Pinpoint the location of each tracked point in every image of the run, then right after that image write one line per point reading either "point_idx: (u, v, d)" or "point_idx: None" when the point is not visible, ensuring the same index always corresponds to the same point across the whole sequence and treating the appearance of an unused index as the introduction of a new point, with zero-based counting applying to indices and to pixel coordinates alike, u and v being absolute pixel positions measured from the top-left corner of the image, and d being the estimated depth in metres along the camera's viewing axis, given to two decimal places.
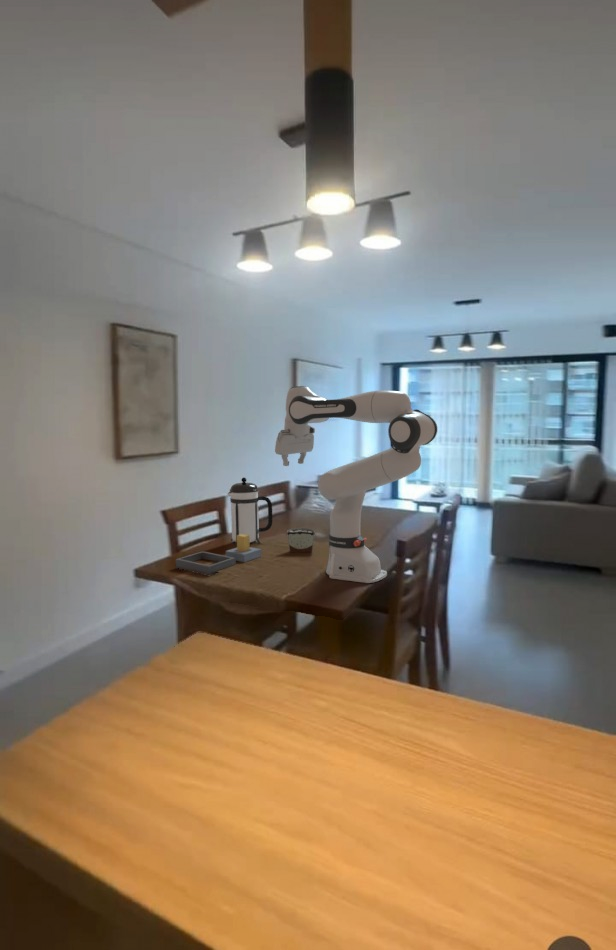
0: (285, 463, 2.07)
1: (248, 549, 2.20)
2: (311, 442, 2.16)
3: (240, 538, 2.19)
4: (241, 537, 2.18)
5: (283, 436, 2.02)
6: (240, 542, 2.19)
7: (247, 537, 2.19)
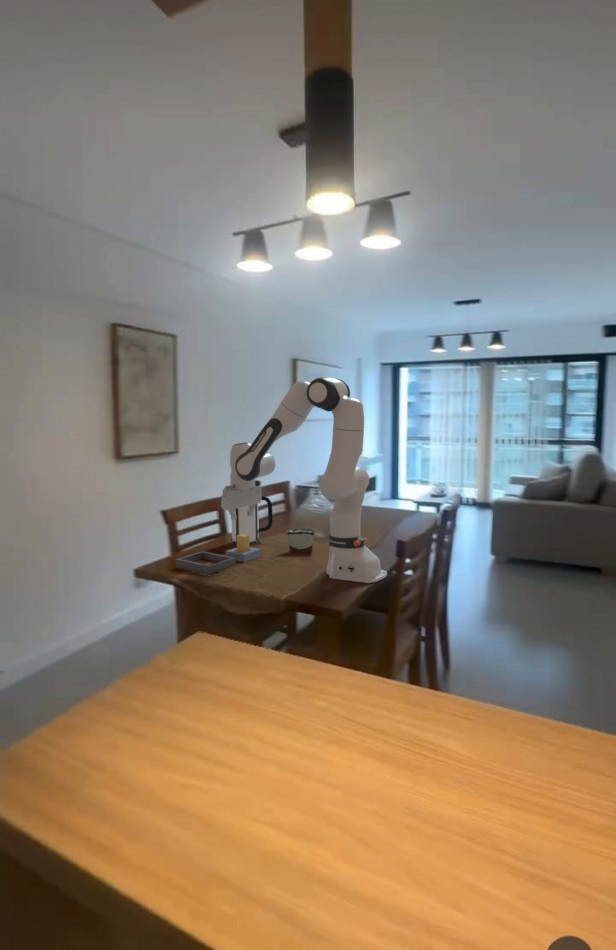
0: (233, 517, 2.14)
1: (248, 549, 2.20)
2: (259, 494, 2.24)
3: (240, 538, 2.19)
4: (241, 537, 2.18)
5: (228, 492, 2.10)
6: (240, 542, 2.19)
7: (247, 537, 2.19)
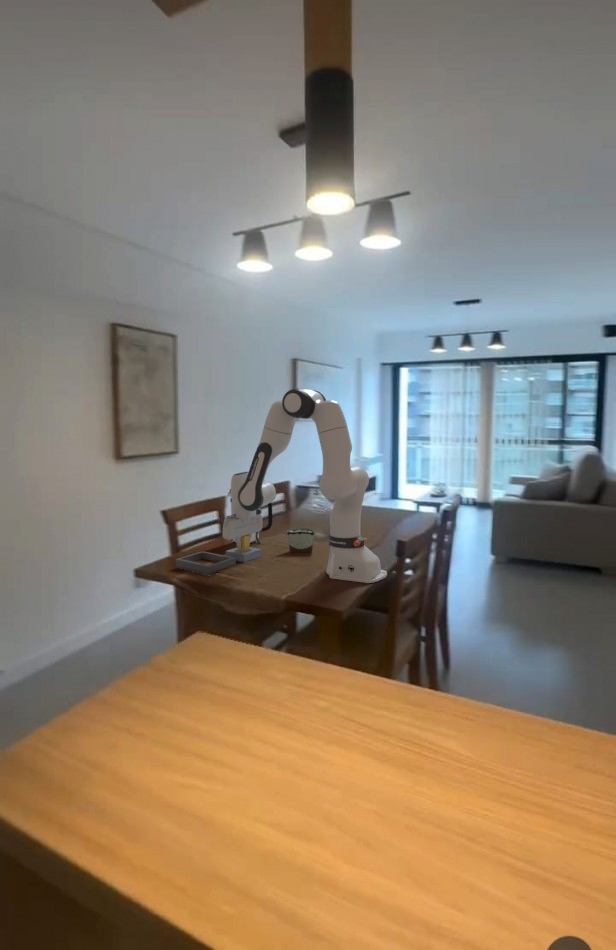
0: (238, 545, 2.18)
1: (248, 549, 2.20)
2: (260, 522, 2.25)
3: None
4: (241, 537, 2.18)
5: (229, 522, 2.11)
6: None
7: (247, 537, 2.19)
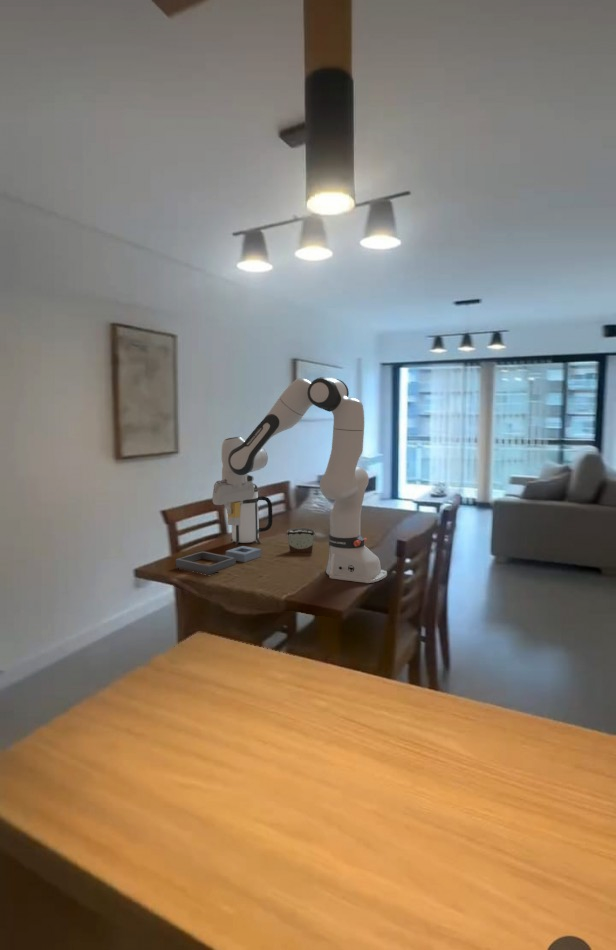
0: (229, 511, 2.14)
1: (239, 516, 2.17)
2: (251, 489, 2.21)
3: None
4: (232, 503, 2.15)
5: (219, 487, 2.08)
6: None
7: (238, 504, 2.16)
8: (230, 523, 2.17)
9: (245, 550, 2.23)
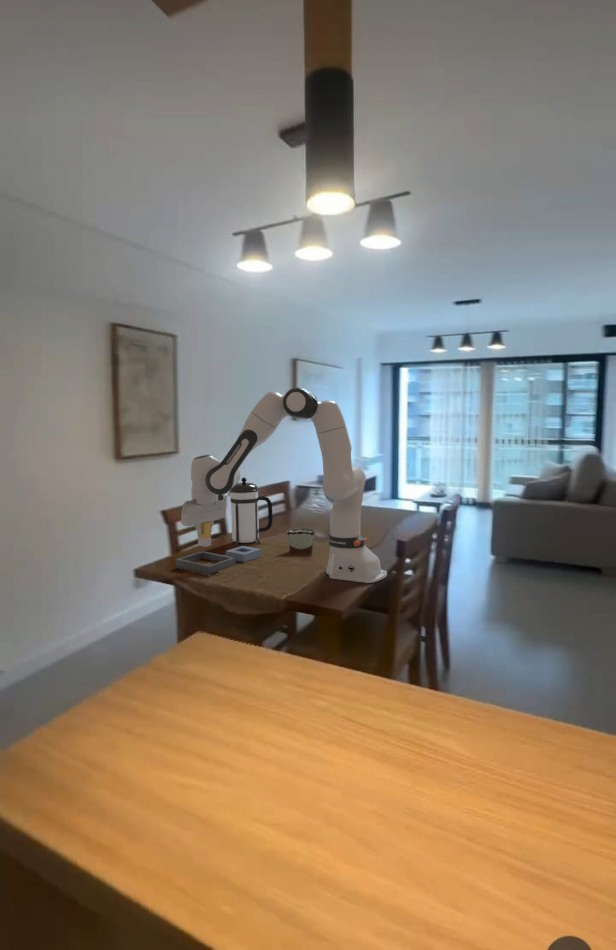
0: (199, 532, 2.07)
1: (209, 536, 2.09)
2: (222, 509, 2.14)
3: (201, 524, 2.08)
4: (202, 524, 2.08)
5: (188, 507, 2.00)
6: None
7: (208, 524, 2.08)
8: (200, 544, 2.09)
9: (245, 550, 2.23)
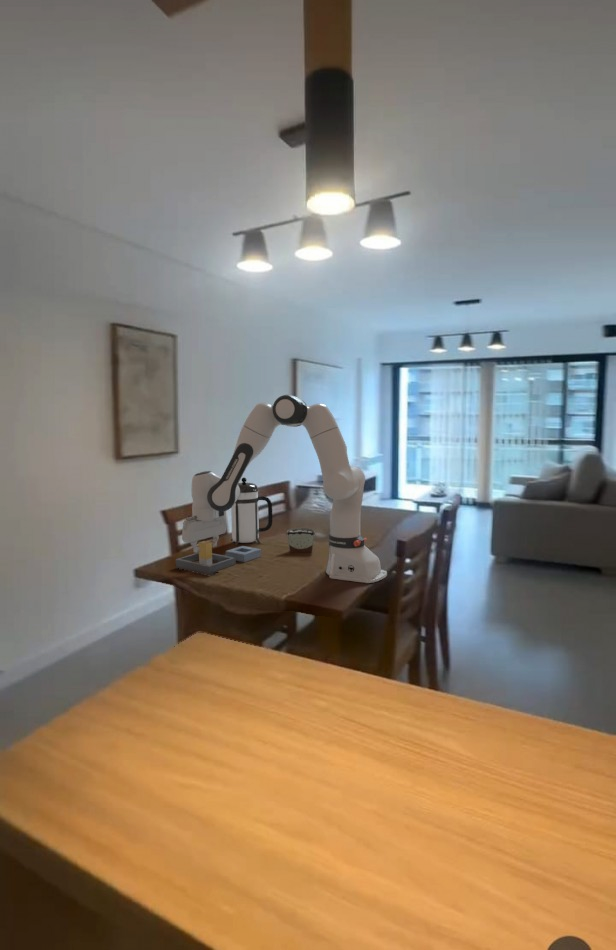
0: (195, 550, 2.06)
1: (210, 557, 2.10)
2: (223, 524, 2.15)
3: (202, 545, 2.09)
4: (203, 544, 2.08)
5: (188, 524, 2.01)
6: (201, 549, 2.09)
7: (209, 544, 2.09)
8: None
9: (245, 550, 2.23)
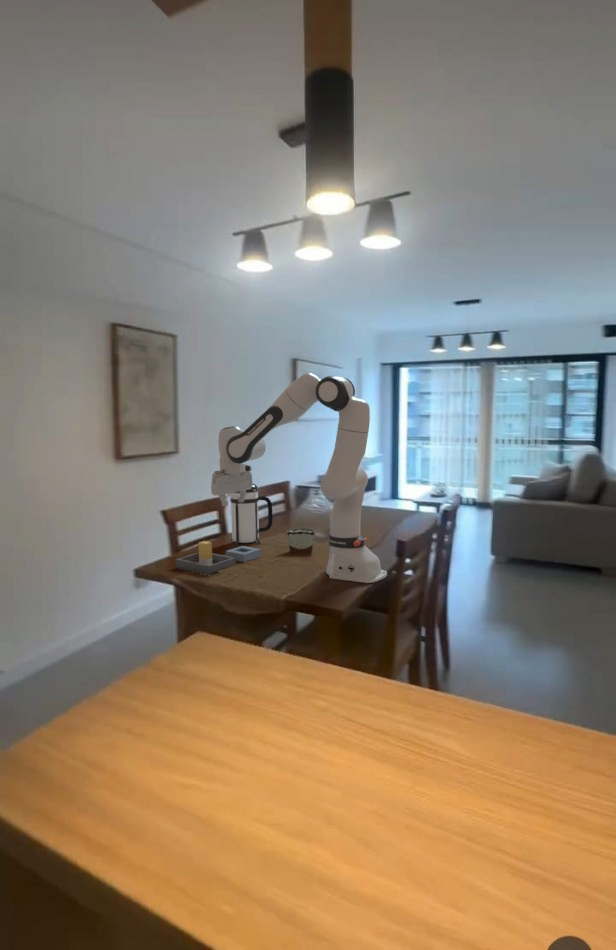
0: (223, 503, 2.09)
1: (210, 557, 2.10)
2: (249, 480, 2.19)
3: (202, 545, 2.09)
4: (203, 544, 2.08)
5: (217, 477, 2.05)
6: (201, 549, 2.09)
7: (209, 544, 2.09)
8: None
9: (245, 550, 2.23)
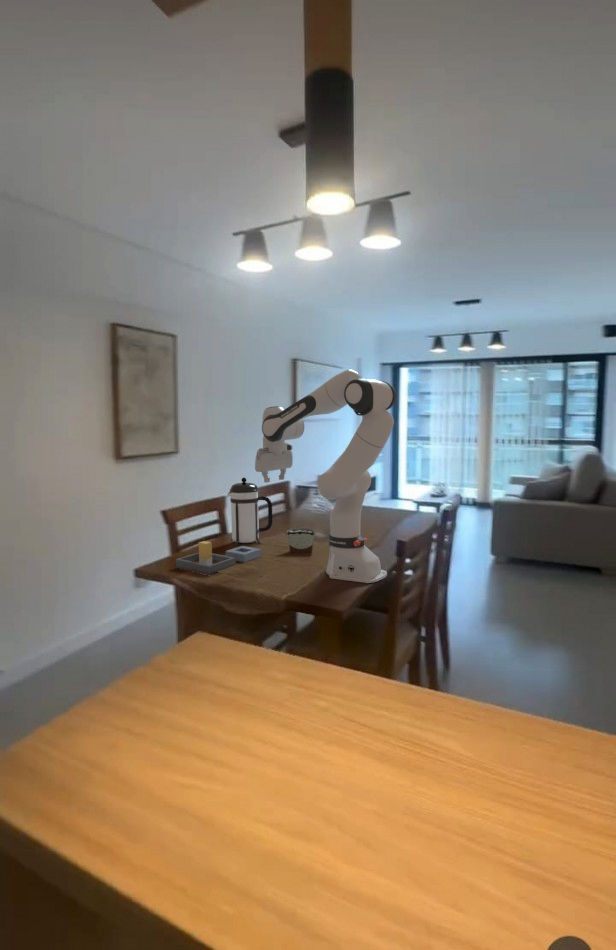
0: (266, 480, 2.18)
1: (210, 557, 2.10)
2: (290, 459, 2.28)
3: (202, 545, 2.09)
4: (203, 544, 2.08)
5: (261, 454, 2.14)
6: (201, 549, 2.09)
7: (209, 544, 2.09)
8: None
9: (245, 550, 2.23)
